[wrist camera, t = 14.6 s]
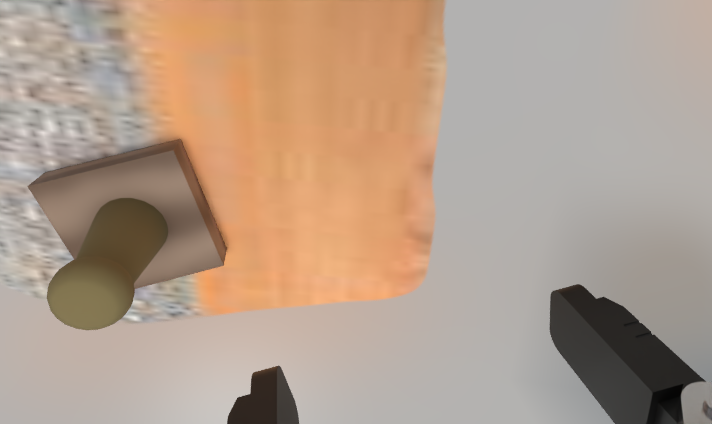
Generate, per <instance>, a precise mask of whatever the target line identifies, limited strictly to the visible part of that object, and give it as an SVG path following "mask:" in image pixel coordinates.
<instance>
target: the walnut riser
mask: <svg viewBox="0 0 712 424" xmlns="http://www.w3.org/2000/svg"><path fill="white" fill-rule="evenodd" d="M28 188H29V189H30V191H31V192H32V194H33V196H34V197H35V199H36V200H37V202H38V203H39V205H40V207H41V208H42V210H43V211H44V213H45V214H46V216H47V217H48V219H49V221H50V222H51V224H52V225H53V227H54V228H55V230H56V232H57V233H58V235H59V236H60V238H61V239H62V241H63V242H64V244H65V246H66V247H67V249H68V250H69V252H70V253H71V255H72V256H73V258H74V260H75V259H76V257H77V255H78V253H79V250H80V248H81V246H82V244H83V242H84V239H85V237H86V235H87V233H88V231H89V228H90V226H91V224H92V222H93V220H94V217H95V215H96V214H97V212H98V211H99V209H100V208H101V207H102V206H103V205H105V204H106V203H107V202H109V201H112V200H115V199H118V198H134V199H138V200H142V201H145V202H147V203H148V204H150V205H152V206H154V207H155V208H156V209H157V210H158V211H159V212H160V213H161V214H162V215H163V217H164V219H165V221H166V222H167V227H168V236H167V240H166V242H165V243H164V245H163V246H162V248H161V249H160V250H159V251H158V253H157V254H156V255H155V257H154V258H153V259H152V261H151V262H150V263H149V265H148V266H147V267H146V268H145V270H144V271H143V272H142V274H141V275H140V276H139V278H138V279H137V280H136V282H135V283H134V288H135V289H136V288H140V287H144V286H148V285H151V284H155V283H159V282H163V281H167V280H171V279H174V278H178V277H182V276H186V275H190V274H193V273H197V272H201V271H205V270H209V269H212V268H216V267H220V266H224V260H225V255H226V250H227V249H226V246H225V244H224V242H223V239H222V237H221V234H220V232H219V230H218V227H217V225H216V223H215V220H214V218H213V215H212V213H211V211H210V208H209V206H208V204H207V201H206V199H205V196H204V194H203V192H202V189H201V187H200V185H199V182H198V180H197V177H196V175H195V173H194V170H193V168H192V166H191V163H190V161H189V158H188V156H187V154H186V151H185V149H184V147H183V144H182V142H181V139H179V140H175V141H171V142H167V143H163V144H159V145H155V146H151V147H147V148H143V149H139V150H135V151H131V152H127V153H122V154H118V155H114V156H110V157H106V158H102V159H98V160H94V161H90V162H86V163H82V164H78V165H74V166H70V167H66V168H62V169H58V170H53V171H49V172H45V173H44V174H43V175H41V176H40V177H39V178H38V179H36V180H35V181H34V182H32V183H31V184H30V185H29V186H28Z"/></svg>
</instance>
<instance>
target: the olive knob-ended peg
mask: <svg viewBox="0 0 712 424" xmlns="http://www.w3.org/2000/svg"><path fill="white" fill-rule="evenodd" d="M167 236H168V227H167V222H166V221H165V219H164V217H163V215H162V214H161V213H160V212H159V211H158V210H157V209H156V208H155V207H154V206H152V205H150V204H148V203H147V202H145V201H142V200H138V199H134V198H118V199H115V200H112V201H109V202H107V203H106V204H105V205H103V206H102V207H101V208H100V209H99V211H98V212H97V214H96V215H95V217H94V220H93V222H92V224H91V226H90V228H89V231H88V233H87V235H86V237H85V239H84V242H83V244H82V246H81V248H80V250H79V253H78V255H77V257H76V259H75V260H73V261H71V262H70V263H68V264H67V265H65V266H64V267H62V268H61V269H59V270H58V272H57V273H56V274H55V276H54V277H53V279H52V280H51V282H50V283H49V287H48V292H47V300H48V303H49V306H50V309H51V311H52V313H53V314H54V315H55V317H56V318H57V319H59V320H60V321H61V322H63V323H64V324H66V325H68V326H71V327H74V328H77V329H83V330H96V329H101V328H104V327H107V326H110V325H112V324H114V323H115V322H117V321H118V320H120V319H121V318H122V317H123V316H124V315H125V314H126V312H127V311H128V310H129V308H130V307H131V304H132V302H133V297H134V290H135V288H134V283H135V282H136V280H137V279H138V278H139V276H140V275H141V274H142V272H143V271H144V270H145V268H146V267H147V266H148V265H149V263H150V262H151V261H152V259H153V258H154V257H155V255H156V254H157V253H158V251H159V250H160V249H161V248H162V246H163V245H164V243H165V242H166V240H167Z"/></svg>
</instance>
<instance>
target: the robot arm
mask: <svg viewBox="0 0 712 424" xmlns="http://www.w3.org/2000/svg"><path fill="white" fill-rule="evenodd" d="M550 334H551V337H552V340H553V342H554V344H555V346H556V348H557V350H558V351H559V352H560V354H561V355H562V356H563V358H564V359H565V360H566V361H567V363H568V364H569V365H570V366H571V368H572V369H573V370H574V372H575V373H576V374H577V375H578V376H579V378H580V379H581V381H582V382H583V383H584V384H585V385H586V387H587V388H588V389H589V391H590V392H591V393H592V395H593V396H594V397H595V399H596V400H597V401H598V402H599V404H600V405H601V406H602V407H603V409H604V410H605V411H606V413H607V414H608V415H609V416H610V418H611V419H612V420H613V422H614V423H615V424H712V382H706V381H705V380H704V379H702V378H701V377H700V376H699V375H698V374H697V373H696V372H694V371H693V370H692V369H691V368H690V367H689V366H688V365H687V364H686V363H685V362H683V361H682V360H681V359H680V358H679V357H678V356H677V355H676V354H675V353H674V352H673V351H672V350H670V349H669V348H668V347H667V346H666V345H665V344H664V343H663V342H662V341H661V340H659V339H658V338H657V337H656V336H655V335H652V334H651V331H649V329H647V328H646V327H645V326H644V325H643V324H642V323H639V321H638V320H637V319H636V318H635V317H634V316H633V315H632V314H631V313H630V312H629V311H628V310H627V309H626V308H624V307H623V306H621V305H619V304H617V303H615V302H613V301H611V300H609V299H607V298H605V297H602V298H598V299H596V298H595V297H594V296H593V295H592V294H591V293H589V291H588V290H587V289H585V288H584V287H583V286H582V285H579V284H577V285H573V286H570V287H566V288H562V289H559V290H555V291H553V292H552V293H551V301H550ZM227 424H299V418H298V412H297V408H296V404H295V400H294V398H293V395H292V393H291V391H290V389H289V386H288V383H287V381H286V379H285V376H284V374H283V371H282V369H281V367H280V366H276V367H272V368H269V369H265V370H261V371H258V372H254V373H253V374H252V379H251V394H249V395H245V396H242V397H238V398H237V400H236V402H235V404H234V406H233V408H232V410H231V412H230V414H229V416H228V421H227Z"/></svg>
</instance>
